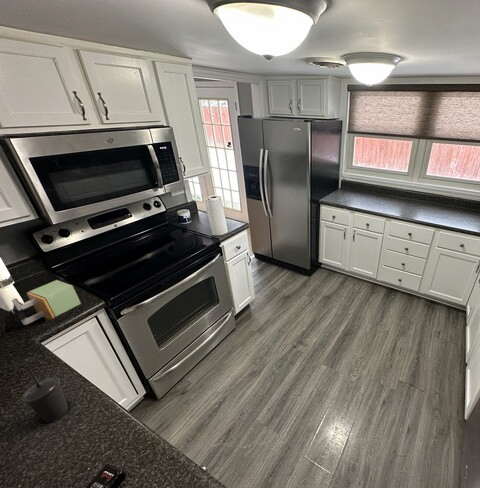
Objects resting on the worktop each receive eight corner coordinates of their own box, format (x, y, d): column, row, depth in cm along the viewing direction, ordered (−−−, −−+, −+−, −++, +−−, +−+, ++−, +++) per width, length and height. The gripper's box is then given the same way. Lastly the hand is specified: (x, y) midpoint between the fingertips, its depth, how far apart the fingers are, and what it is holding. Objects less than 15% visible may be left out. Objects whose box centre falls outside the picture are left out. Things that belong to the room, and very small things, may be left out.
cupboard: (57, 321, 119) (45, 297, 113) (41, 314, 123) (29, 291, 117) (82, 307, 127) (72, 285, 122) (67, 301, 131) (56, 279, 125)
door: (35, 332, 112) (21, 309, 107) (18, 325, 116) (4, 302, 110) (57, 321, 119) (45, 298, 113) (41, 314, 122) (28, 291, 117)
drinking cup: (73, 424, 80) (44, 377, 72) (39, 438, 76) (4, 390, 68) (79, 403, 86) (53, 358, 78) (48, 415, 82) (17, 369, 74)
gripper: (-26, 283, 103) (-3, 319, 111) (-4, 292, 99) (19, 329, 106) (0, 273, 110) (21, 308, 118) (22, 282, 105) (42, 318, 113)
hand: (20, 318), depth 112 cm, fingers closed on door, 2 cm apart
